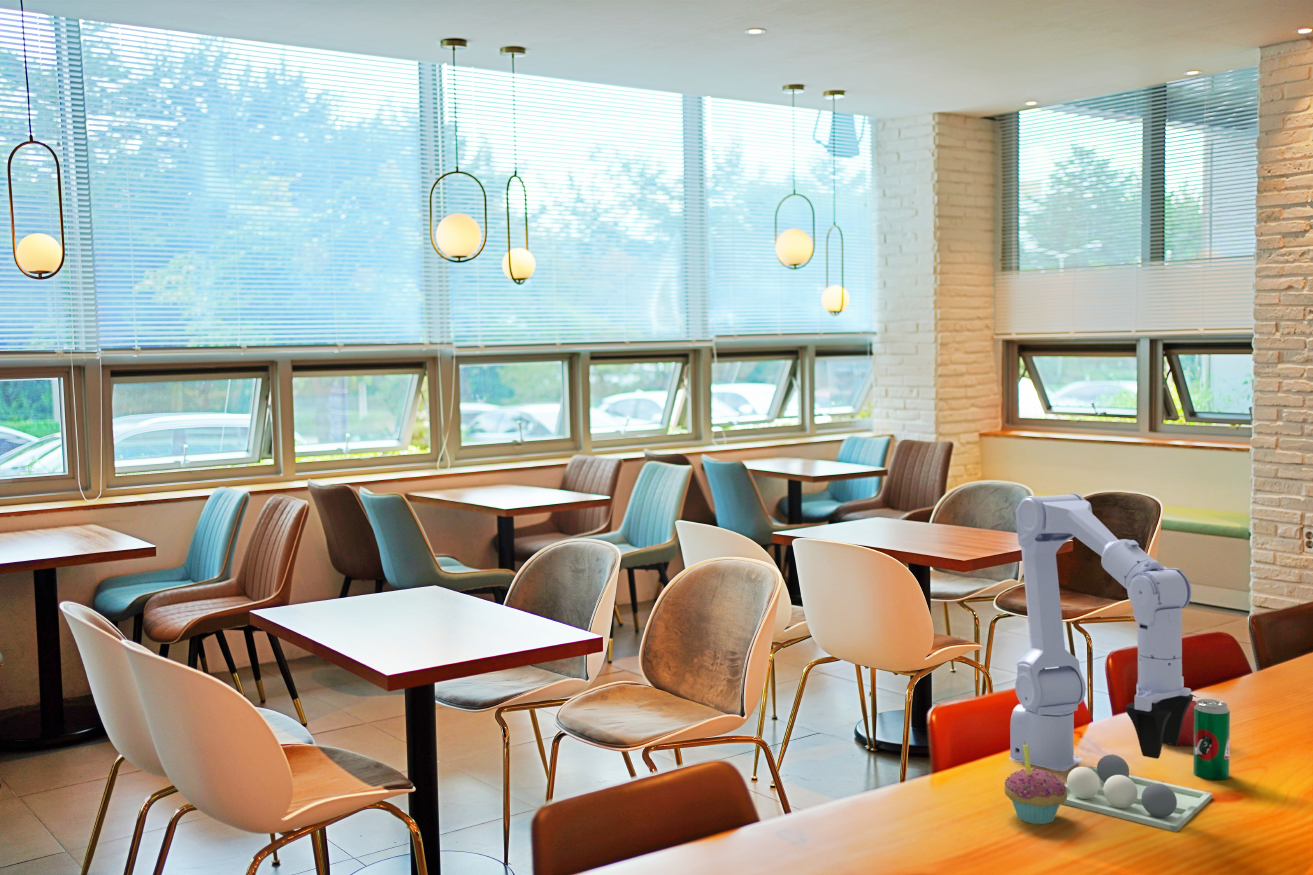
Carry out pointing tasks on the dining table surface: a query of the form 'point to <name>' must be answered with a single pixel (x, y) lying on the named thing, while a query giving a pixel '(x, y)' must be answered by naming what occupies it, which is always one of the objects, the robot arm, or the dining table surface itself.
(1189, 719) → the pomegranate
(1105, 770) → the charcoal ball back
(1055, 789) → the cupcake
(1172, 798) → the charcoal ball front
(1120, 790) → the cream ball middle
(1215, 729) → the soda can
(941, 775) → the dining table surface
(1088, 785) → the cream ball left
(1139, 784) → the rack
